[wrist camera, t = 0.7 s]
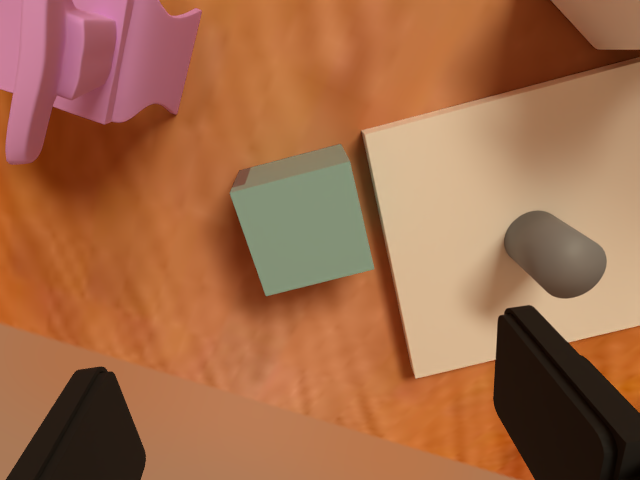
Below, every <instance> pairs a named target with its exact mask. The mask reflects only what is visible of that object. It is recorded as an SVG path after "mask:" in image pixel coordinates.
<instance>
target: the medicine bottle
mask: <svg viewBox="0 0 640 480" xmlns="http://www.w3.org/2000/svg"><path fill="white" fill-rule="evenodd" d="M551 1H552V2H553V4H554V5H555V6H556V7H557V8H558V9H559V10H560V11H561V12H562V13H563V14H564V15H565V17H566V18H567V19H568V20H569V21H570V22H571V23H572V24H573V25H574V26H575V27H576V28H577V30H578V31H579V32H580V33H581V34H582V35H583V36H584V37H585V38H586V39H587V40H588V42H589V43H590V44H591V45H592V46H593V47H594V48H596V49H598V50H640V0H551Z"/></svg>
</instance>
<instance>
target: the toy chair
mask: <svg viewBox="0 0 640 480" xmlns="http://www.w3.org/2000/svg"><path fill="white" fill-rule="evenodd" d="M201 13H202V11H201V10H200V9H197V8H195V9H193V10H191V11H189V12H187V13H184V14H182V15H178V16H171V15H169V14H168V13H167V12H166V10H165V9H164V8H163V6H162V5H161V3H160V1H159V0H0V89H2V90H5V91H8V92H11V93H13V97H12V103H11V109H10V115H9V121H8V128H7V136H6V159H7V161H8V163H9V164H26V163H31V162H33V161H34V160H35V159H36V158H37V157H38V156H39V154H40V152H41V150H42V147H43V143H44V139H45V135H46V131H47V127H48V123H49V119H50V115H51V111H52V107H55V108H58V109H61V110H64V111H66V112H69V113H72V114H75V115H78V116H80V117H83V118H86V119H89V120H92V121H95V122H98V123H101V124H104V125H105V124H107V123H110V122H116V123H121V122H125V121H127V120H129V119H131V118H132V117H133V116H135V115H136V114H137V113H139V112H140V111H141V110H142V109H144V108H145V107H147V106H149V105H152V104H160V105H162V106H163V107H164V108H166V109H167V110H168V111H169V112H170V113H172V114H175V115H176V114H177V112H178V108H179V104H180V100H181V96H182V92H183V88H184V84H185V80H186V75H187V71H188V67H189V63H190V59H191V55H192V51H193V47H194V42H195V38H196V34H197V30H198V26H199V22H200V17H201Z"/></svg>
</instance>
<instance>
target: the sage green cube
mask: <svg viewBox="0 0 640 480" xmlns="http://www.w3.org/2000/svg"><path fill="white" fill-rule="evenodd" d="M230 195H231V198H232V201H233V204H234V207H235V210H236V213H237V215H238V218H239V221H240V224H241V227H242V230H243V233H244V235H245V238H246V241H247V244H248V247H249V250H250V253H251V255H252V258H253V261H254V264H255V267H256V270H257V273H258V275H259V278H260V281H261V284H262V287H263V290H264V293H265V295H266V296H269V295H273V294H277V293H281V292H285V291H289V290H293V289H297V288H301V287H305V286H309V285H313V284H317V283H321V282H325V281H329V280H333V279H337V278H341V277H345V276H349V275H353V274H357V273H361V272H365V271H369V270H373V269H374V265H373V261H372V256H371V252H370V247H369V243H368V239H367V234H366V230H365V225H364V221H363V217H362V212H361V208H360V203H359V199H358V195H357V190H356V186H355V181H354V177H353V173H352V168H351V164H350V161H349V159H348V157H347V155H346V153H345V151H344V149H343V147H342V145H341V144H338V145H335V146H331V147H327V148H323V149H319V150H316V151H312V152H308V153H304V154H300V155H297V156H293V157H289V158H285V159H281V160H278V161H274V162H270V163H266V164H263V165H259V166H255V167H251V168H247V169H244V170H240V171H239V172H238V175H237V177H236V179H235V182H234V184H233V186H232V189H231V191H230Z"/></svg>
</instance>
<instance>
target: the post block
mask: <svg viewBox="0 0 640 480" xmlns="http://www.w3.org/2000/svg"><path fill="white" fill-rule="evenodd" d="M362 136H363V140H364V145H365V150H366V155H367V159H368V164H369V169H370V174H371V178H372V183H373V188H374V193H375V197H376V202H377V207H378V212H379V216H380V221H381V226H382V231H383V236H384V240H385V245H386V250H387V255H388V259H389V264H390V269H391V274H392V278H393V283H394V288H395V293H396V297H397V302H398V307H399V312H400V316H401V321H402V326H403V331H404V335H405V340H406V345H407V350H408V354H409V359H410V364H411V368H412V370H413V373H414V376H415V378H420V377H424V376H429V375H433V374H437V373H441V372H446V371H450V370H454V369H458V368H462V367H467V366H471V365H475V364H479V363H483V362H488V361H492V360H496V342H497V323H498V317H499V316H500V315H504V312H505V310H506V309H507V308H512V307H519V306H525V305H532V306H533V307H534V308H535V309H536V310H537V311H538V312H539V313H540V314H541V315H542V316H543V317H544V318H545V319H546V320H547V321H548V322H549V323H550V324H551V325H552V326H553V327H554V328H555V330H556V331H557V332H558V333H559V334H560V335H561V336H562V337H563V338H564V339H565V340H566V341H567V342H572V341H576V340H580V339H585V338H589V337H593V336H597V335H601V334H606V333H610V332H614V331H618V330H622V329H627V328H631V327H635V326H639V325H640V57H637V58H634V59H630V60H626V61H622V62H618V63H615V64H611V65H607V66H603V67H600V68H596V69H592V70H588V71H584V72H581V73H577V74H573V75H569V76H566V77H562V78H558V79H554V80H550V81H547V82H543V83H539V84H535V85H532V86H528V87H524V88H520V89H516V90H513V91H509V92H505V93H501V94H498V95H494V96H490V97H486V98H482V99H479V100H475V101H471V102H467V103H464V104H460V105H456V106H452V107H448V108H445V109H441V110H437V111H433V112H430V113H426V114H422V115H418V116H415V117H411V118H407V119H403V120H399V121H396V122H392V123H388V124H384V125H381V126H377V127H373V128H369V129H365V130H362Z"/></svg>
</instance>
